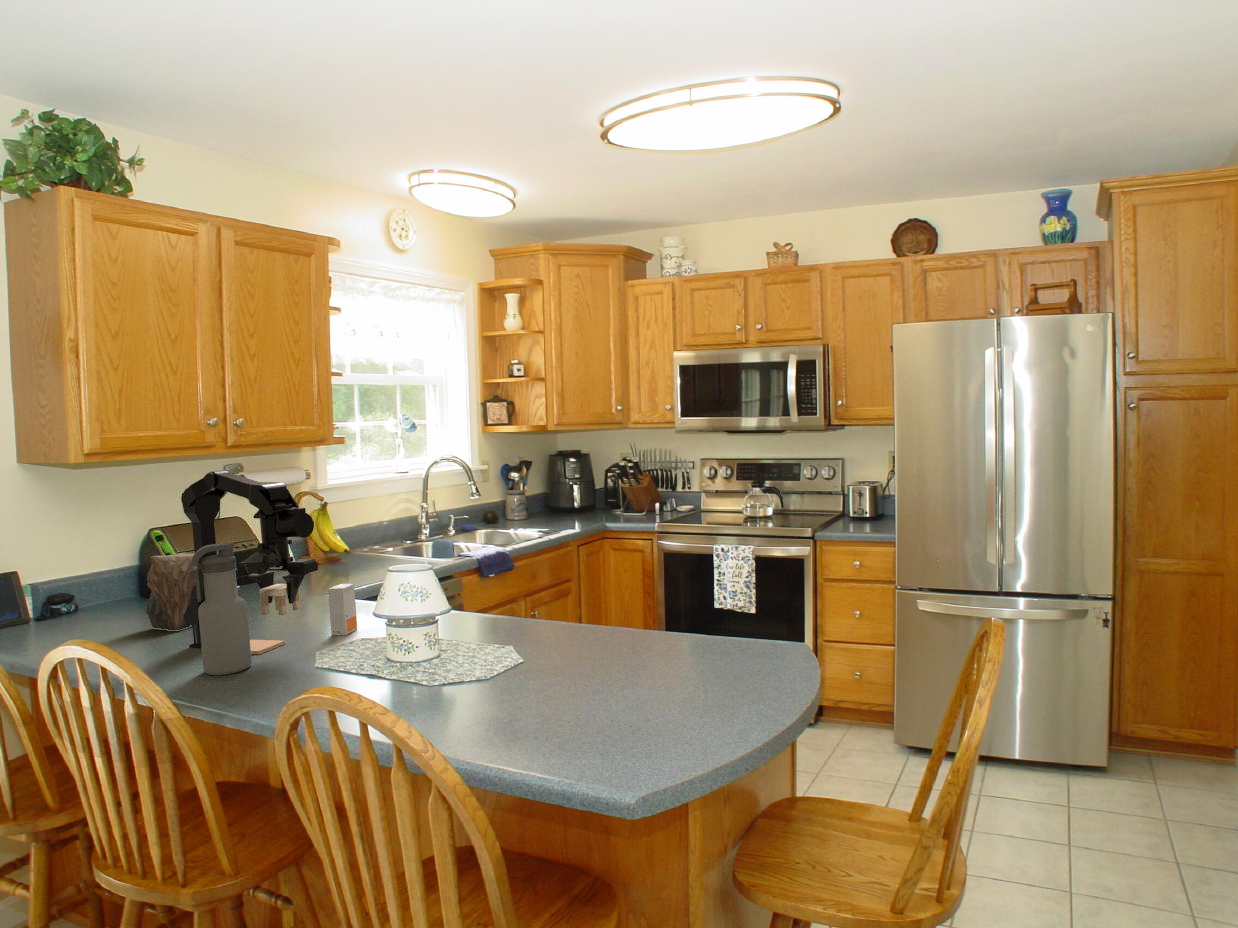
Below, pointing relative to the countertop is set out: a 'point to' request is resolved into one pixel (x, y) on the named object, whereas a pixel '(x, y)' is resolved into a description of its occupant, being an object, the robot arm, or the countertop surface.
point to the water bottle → (221, 612)
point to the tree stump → (170, 590)
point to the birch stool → (277, 599)
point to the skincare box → (342, 609)
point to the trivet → (264, 645)
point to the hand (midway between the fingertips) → (280, 603)
